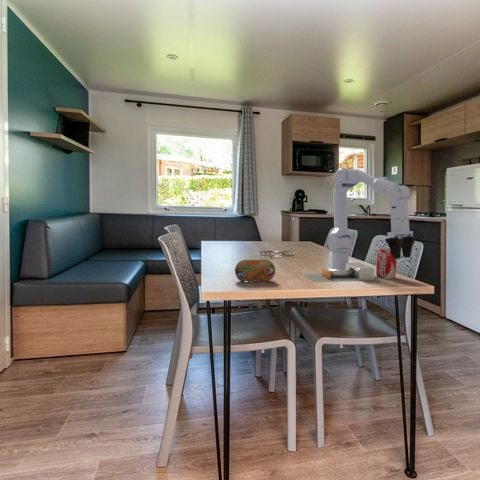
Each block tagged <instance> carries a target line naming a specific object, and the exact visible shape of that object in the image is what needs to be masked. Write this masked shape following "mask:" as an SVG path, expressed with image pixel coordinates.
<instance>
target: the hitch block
mask: <svg viewBox="0 0 480 480" xmlns="http://www.w3.org/2000/svg"><path fill="white" fill-rule="evenodd" d="M348 269H355V277H354V278H355V279H357V280H374V278H375V274H376V271H375V270H376V268H374V267H372V266H369V265H367V264H364V263H361V262H349V263H346V267H345V270H348Z"/></svg>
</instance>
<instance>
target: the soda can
mask: <svg viewBox="0 0 480 480" xmlns="http://www.w3.org/2000/svg"><path fill="white" fill-rule="evenodd" d="M397 260H398V259H393V256H392V253H391V250H390V248H389V247H379V250H378V251H377V254H376V268H375V270H376V271H375V274H376V275H375V276H376V277H377V278H379V279H385V280H393V279H395V278H396V273H397Z"/></svg>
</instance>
